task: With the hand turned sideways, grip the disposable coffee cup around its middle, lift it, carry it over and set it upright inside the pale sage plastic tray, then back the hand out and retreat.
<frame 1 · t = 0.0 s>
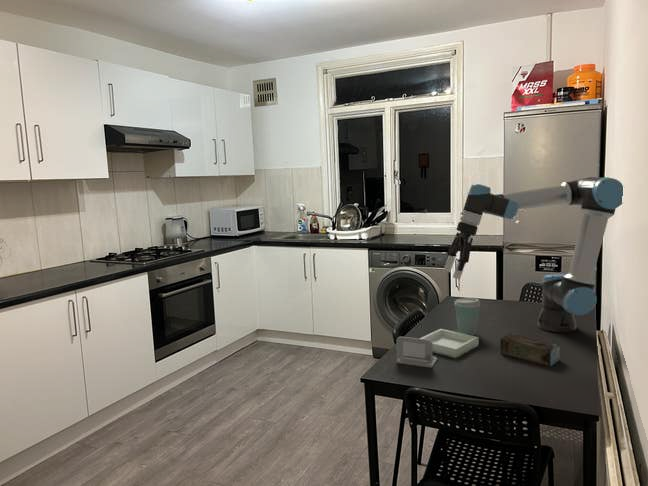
hand: (451, 274, 195), 28 cm above the table, tool tilted 20°, fingers open, 13 cm apart
handheld gaming console: (417, 361, 182), on the table
sage tray: (447, 346, 194), on the table
disposable coffee cup: (467, 334, 209), on the table
beverage carton: (529, 357, 181), on the table
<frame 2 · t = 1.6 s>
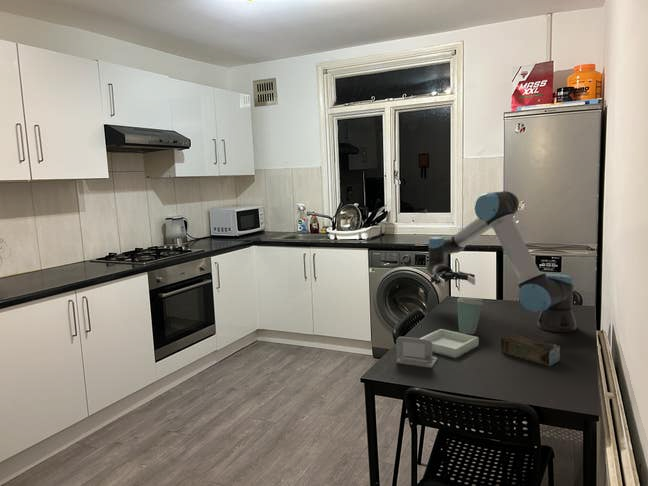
hand: (459, 282, 215), 20 cm above the table, tool horizontal, fingers open, 13 cm apart
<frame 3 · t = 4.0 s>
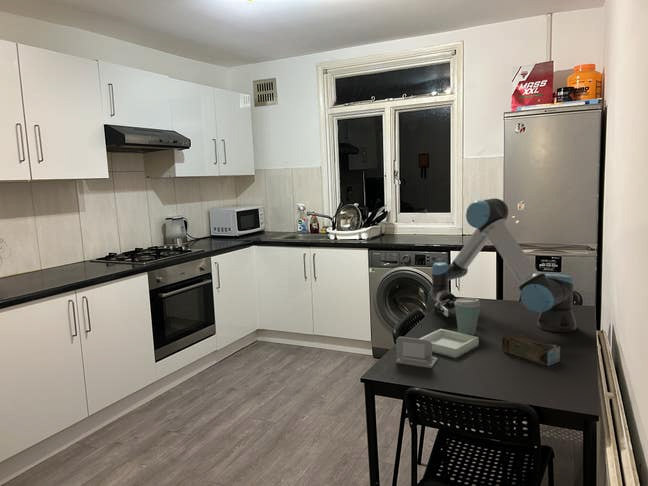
hand: (462, 312, 211), 8 cm above the table, tool horizontal, fingers open, 13 cm apart
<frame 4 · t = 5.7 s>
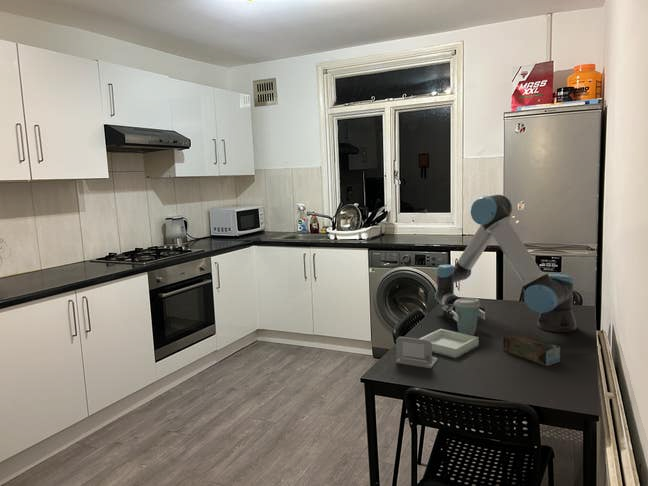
hand: (470, 317, 203), 9 cm above the table, tool horizontal, fingers closed on disposable coffee cup, 11 cm apart
disposable coffee cup: (467, 334, 209), on the table, touching gripper
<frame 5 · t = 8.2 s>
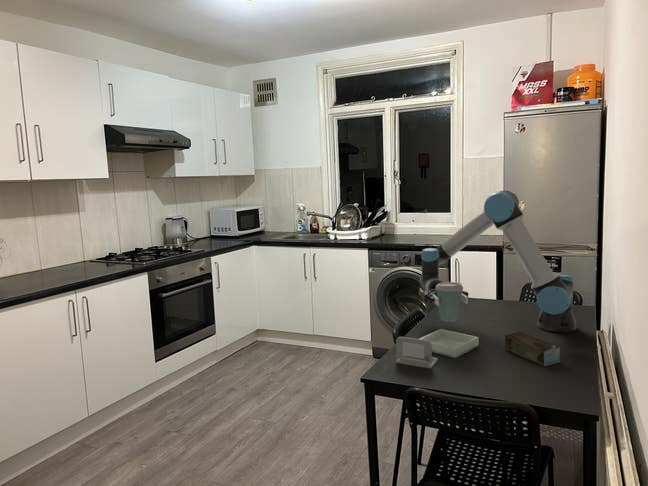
hand: (452, 301, 192), 18 cm above the table, tool horizontal, fingers closed on disposable coffee cup, 11 cm apart
disposable coffee cup: (449, 319, 198), point 9 cm above the table, touching gripper
when the fingers open (10 cm above the table, at t = 10.6 s): disposable coffee cup drops 1 cm, resting on sage tray.
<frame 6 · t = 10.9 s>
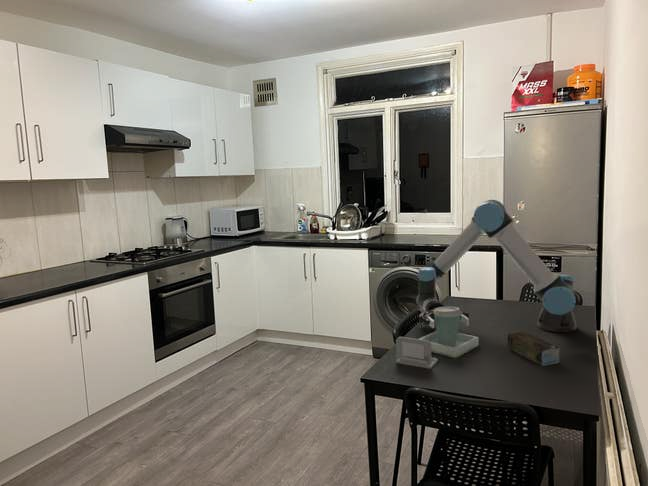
hand: (450, 323, 190), 10 cm above the table, tool horizontal, fingers open, 13 cm apart
disposable coffee cup: (447, 345, 194), point 1 cm above the table, touching sage tray
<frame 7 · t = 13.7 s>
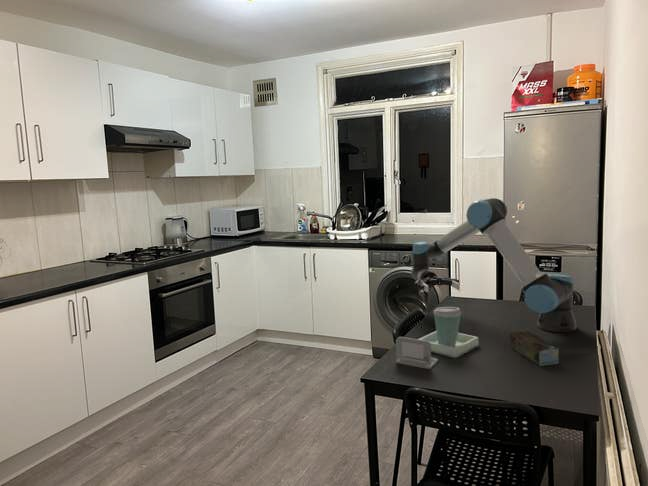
hand: (443, 287, 211), 19 cm above the table, tool horizontal, fingers open, 13 cm apart
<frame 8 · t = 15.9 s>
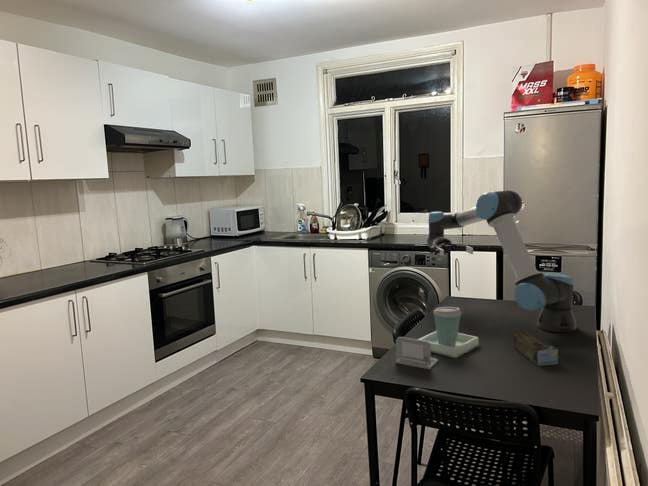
hand: (457, 251, 223), 32 cm above the table, tool horizontal, fingers open, 13 cm apart
at the end: disposable coffee cup inside the target area on the sage tray (0.2 cm from its centre), point 0.6 cm above the sage tray's base; disposable coffee cup tilted 0°; the gripper is holding nothing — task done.
